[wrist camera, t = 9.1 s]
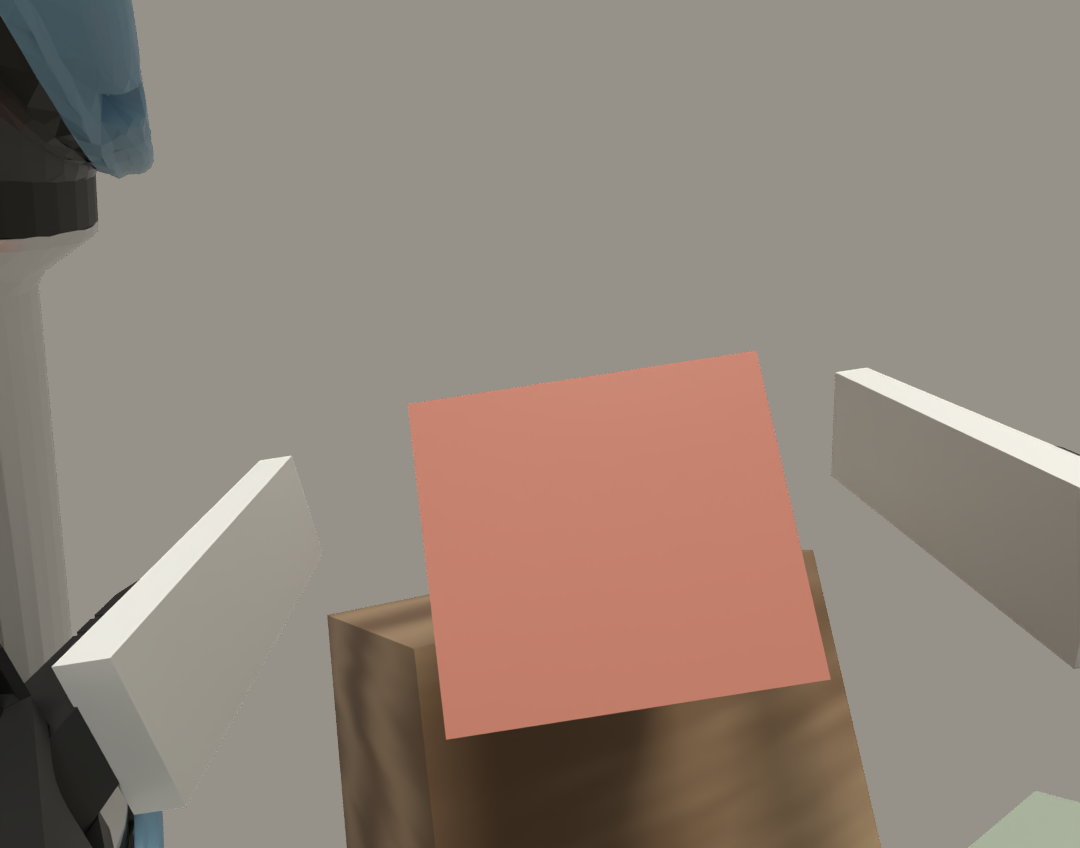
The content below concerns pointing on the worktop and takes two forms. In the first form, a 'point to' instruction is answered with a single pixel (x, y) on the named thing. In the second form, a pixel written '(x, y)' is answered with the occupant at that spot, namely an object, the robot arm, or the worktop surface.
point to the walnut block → (589, 759)
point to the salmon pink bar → (610, 546)
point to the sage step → (1036, 825)
